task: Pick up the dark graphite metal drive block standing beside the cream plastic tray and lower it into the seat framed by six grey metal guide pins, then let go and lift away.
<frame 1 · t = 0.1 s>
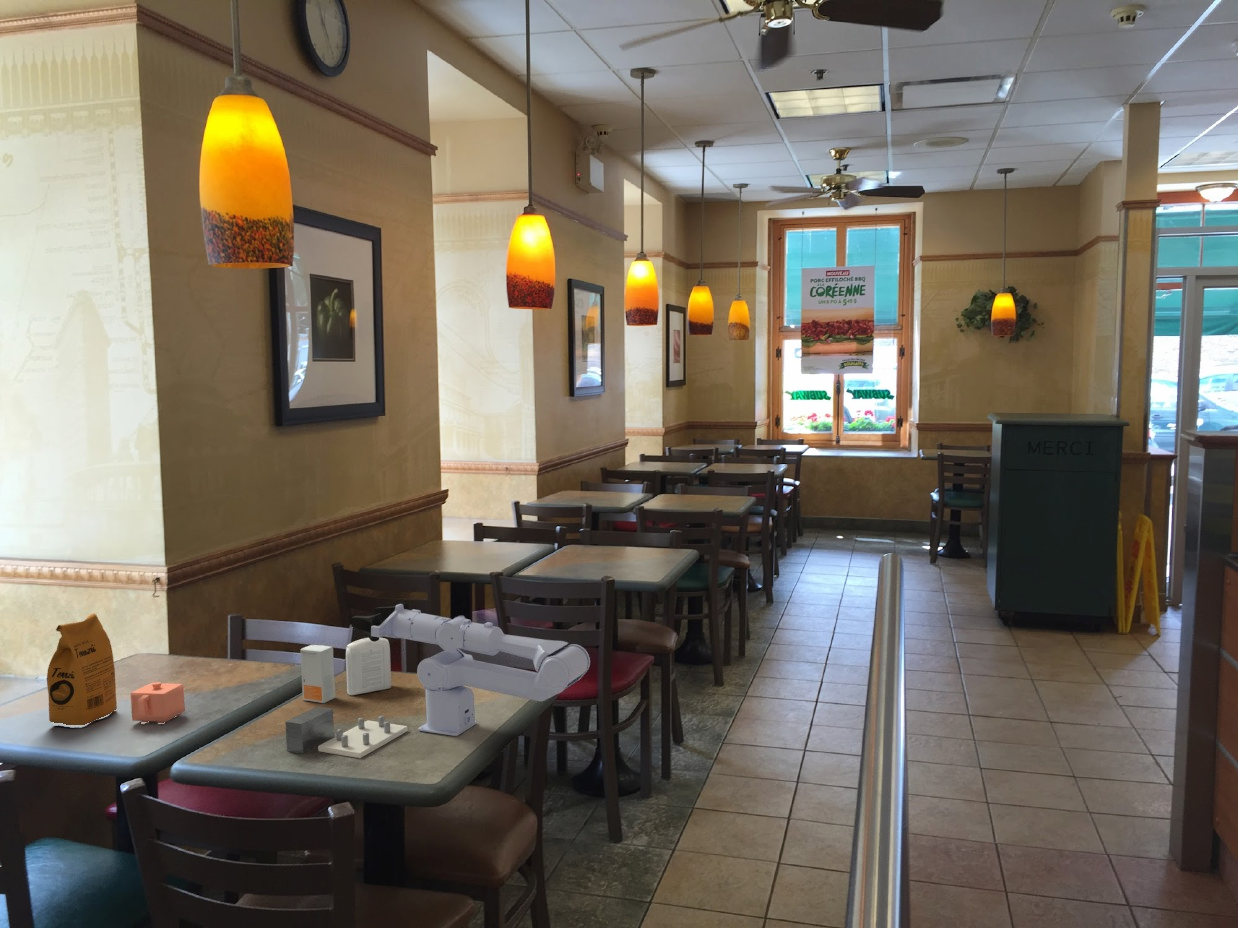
hand: (364, 616, 203), 22 cm above the table, tool horizontal, fingers open, 7 cm apart
pink cube teapot: (161, 720, 206), on the table
coffee package: (84, 720, 207), on the table
photo printer: (369, 691, 222), on the table
pin tray: (364, 740, 190), on the table
skincare box: (319, 700, 216), on the table
drive block: (311, 744, 189), on the table
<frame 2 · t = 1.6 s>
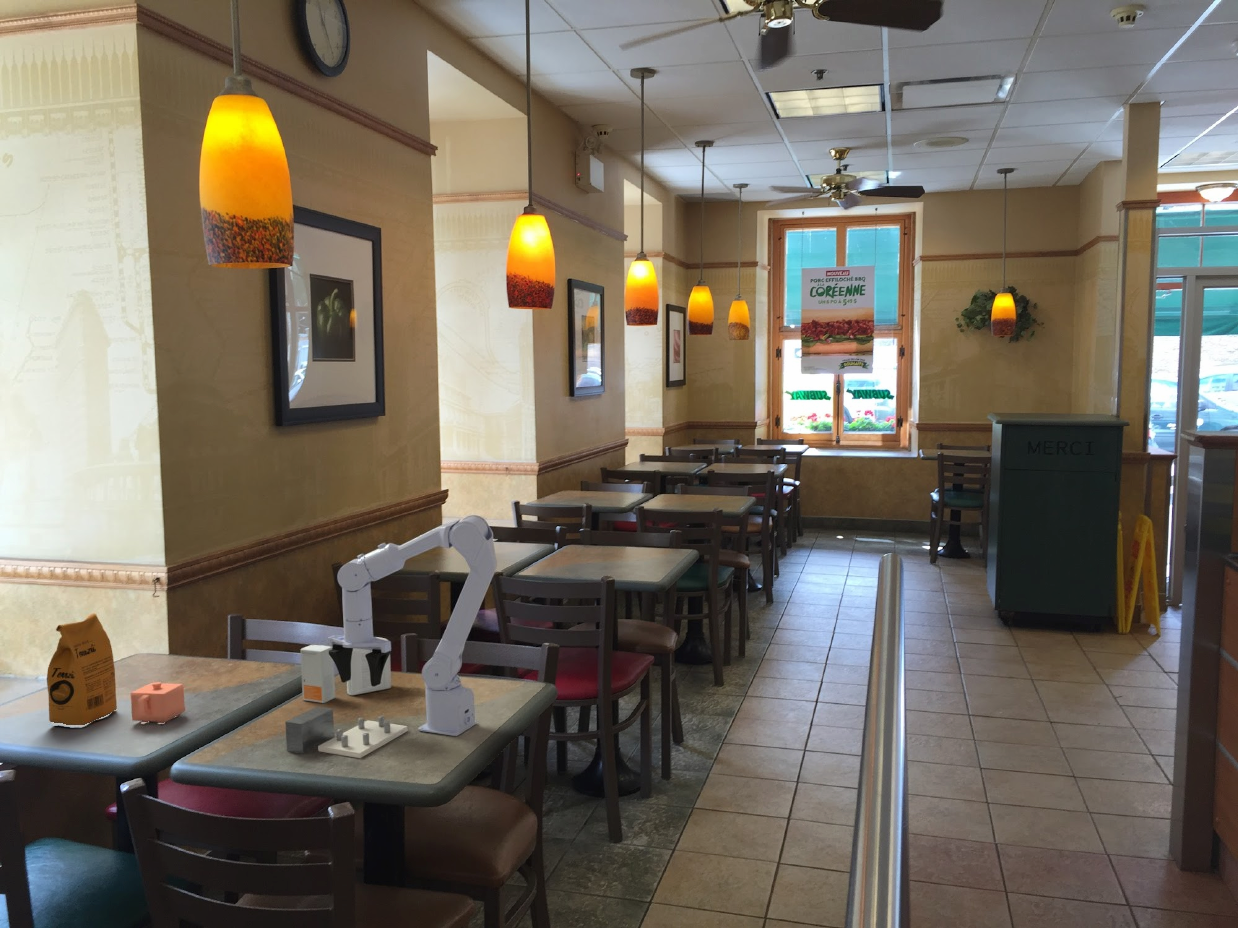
hand: (360, 682, 197), 9 cm above the table, tool pointing down, fingers open, 7 cm apart
nothing on the table moved.
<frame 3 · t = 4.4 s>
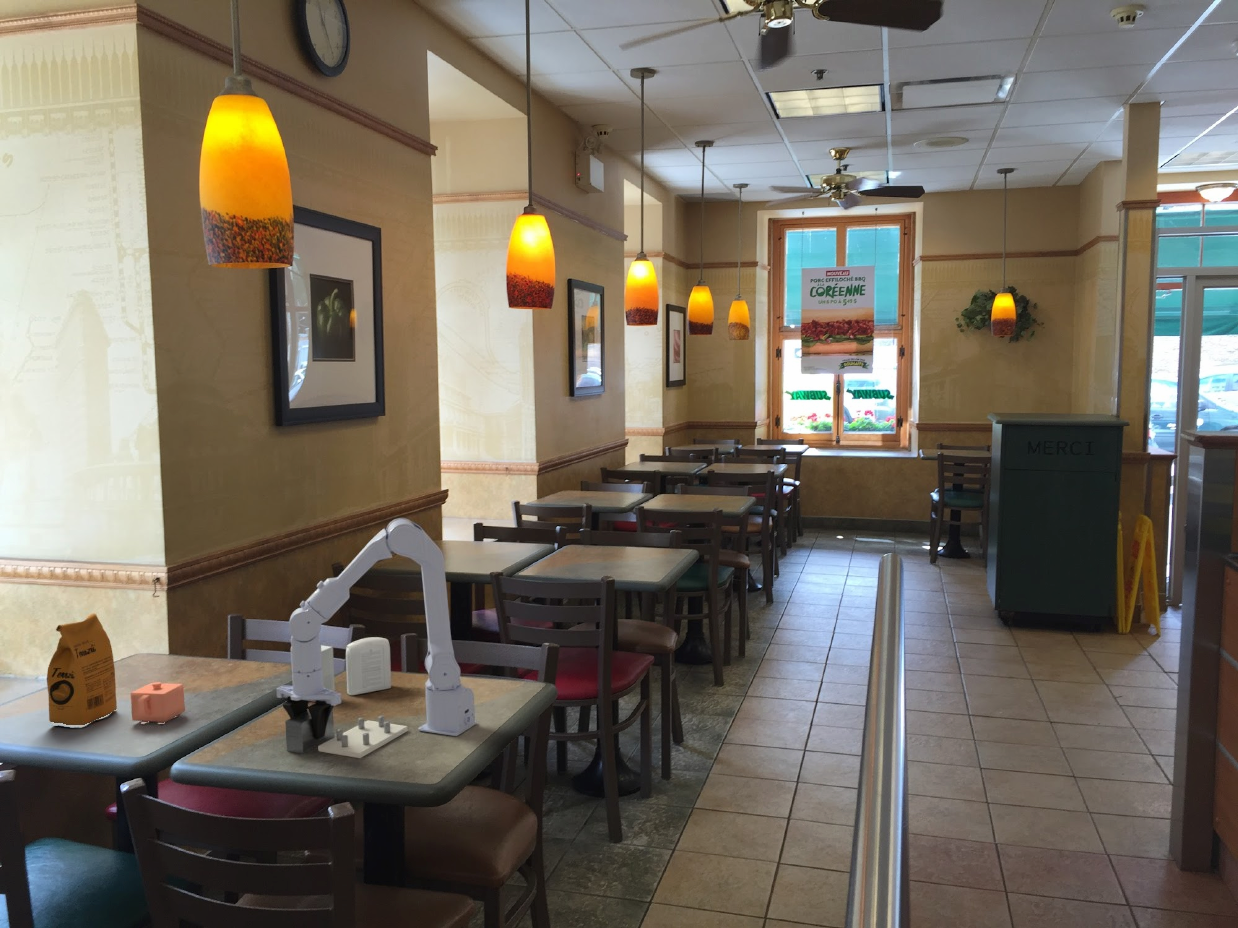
hand: (310, 735, 189), 2 cm above the table, tool pointing down, fingers closed on drive block, 4 cm apart
drive block: (311, 743, 189), on the table, touching gripper
everything else where it was.
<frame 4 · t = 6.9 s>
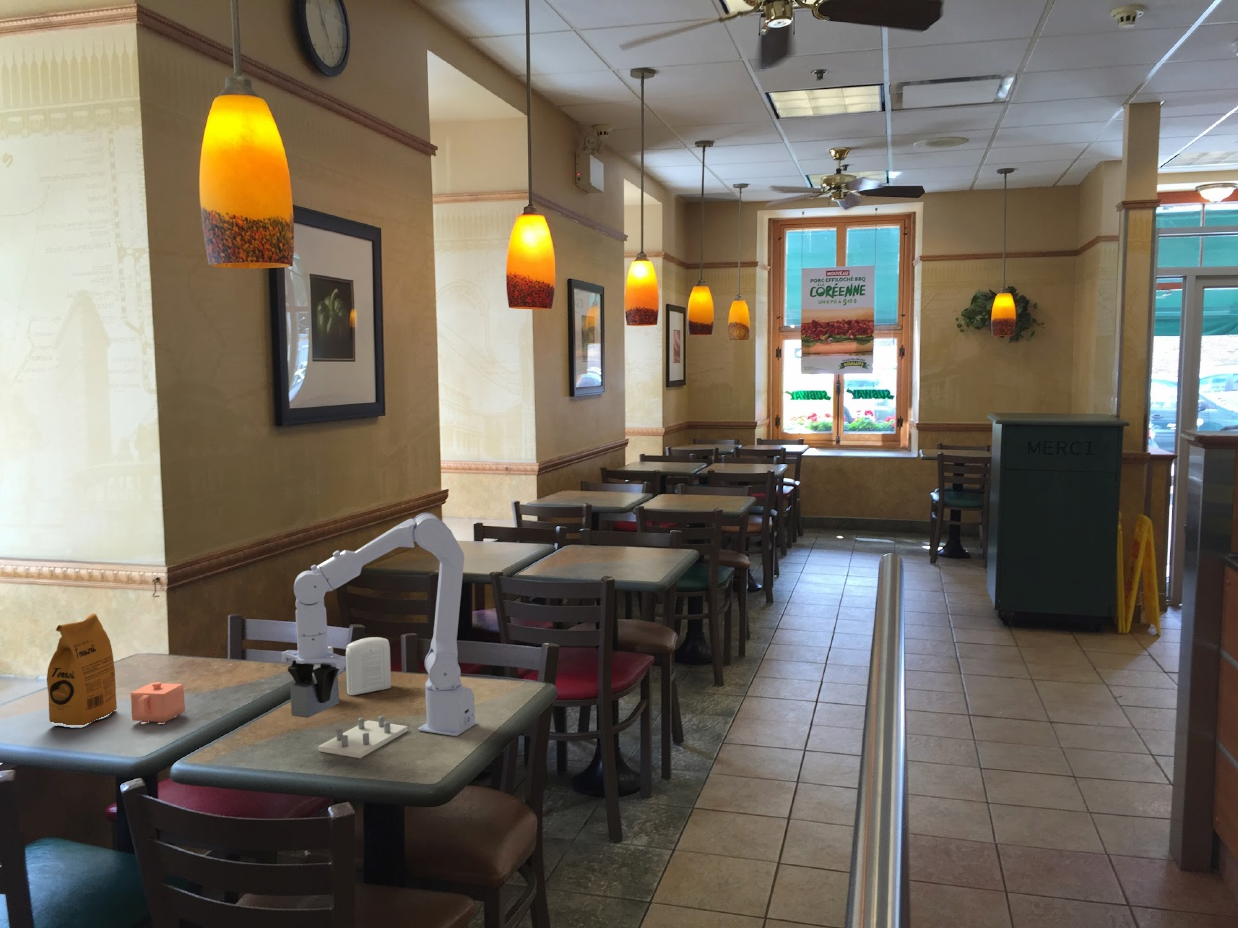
hand: (315, 699, 189), 9 cm above the table, tool pointing down, fingers closed on drive block, 4 cm apart
drive block: (315, 709, 189), point 7 cm above the table, touching gripper
everything else where it was.
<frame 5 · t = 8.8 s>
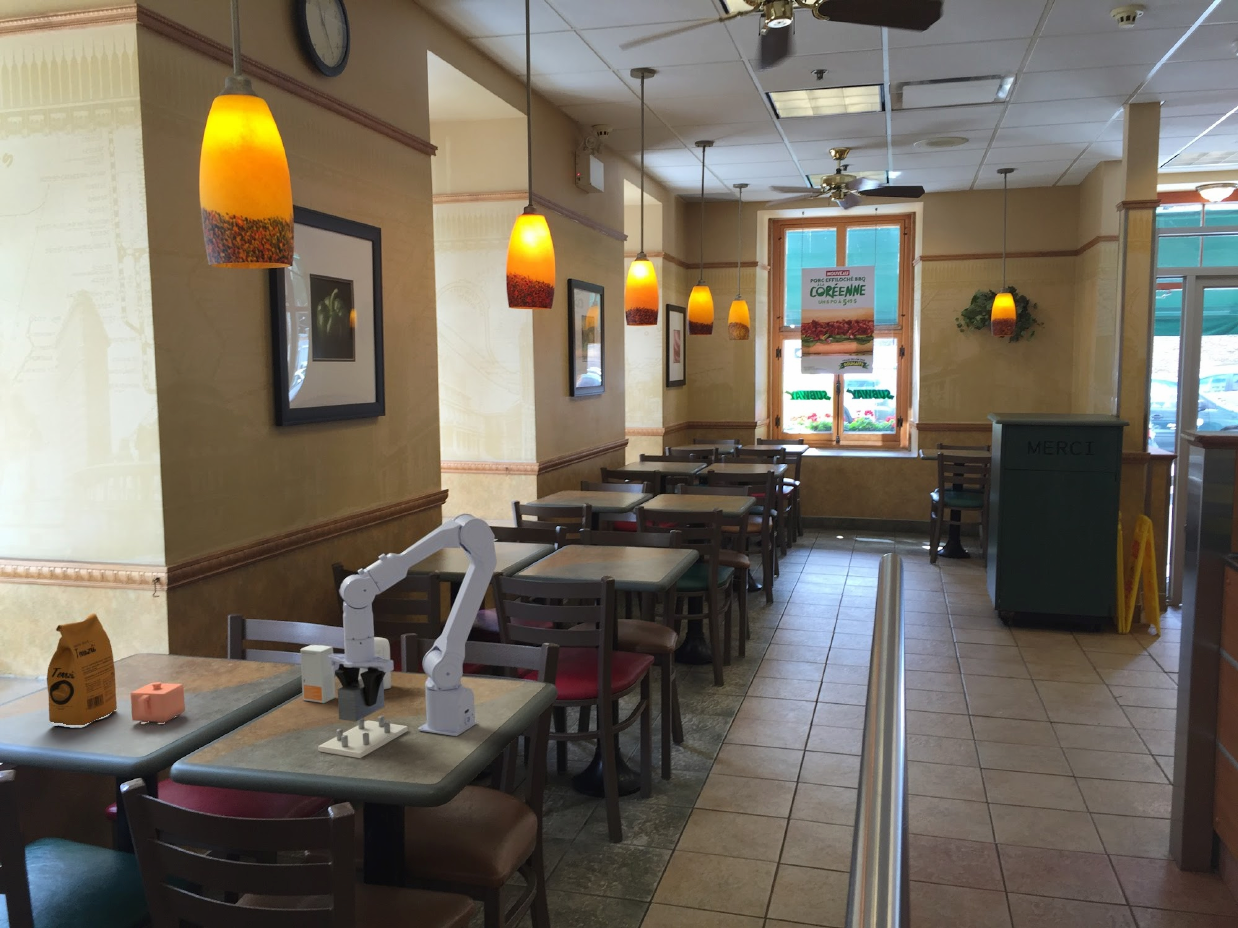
hand: (362, 703, 190), 8 cm above the table, tool pointing down, fingers closed on drive block, 4 cm apart
drive block: (362, 712, 190), point 6 cm above the table, touching gripper
everything else where it was.
when the fingers open (4 cm above the table, at t = 9.9 s): drive block drops 1 cm, resting on pin tray.
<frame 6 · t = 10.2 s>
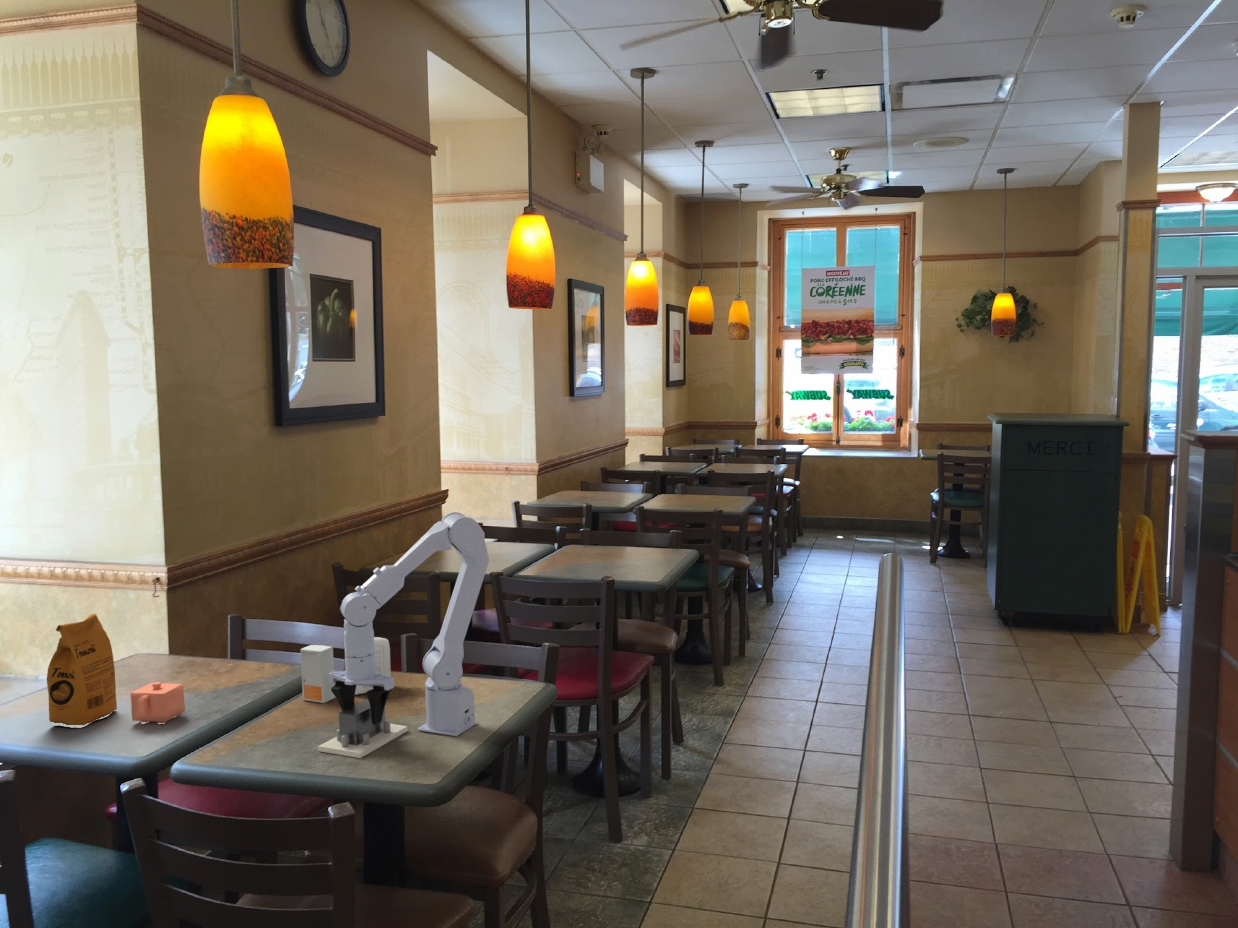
hand: (363, 720, 190), 4 cm above the table, tool pointing down, fingers open, 6 cm apart
drive block: (363, 735, 190), point 1 cm above the table, touching pin tray
everything else where it was.
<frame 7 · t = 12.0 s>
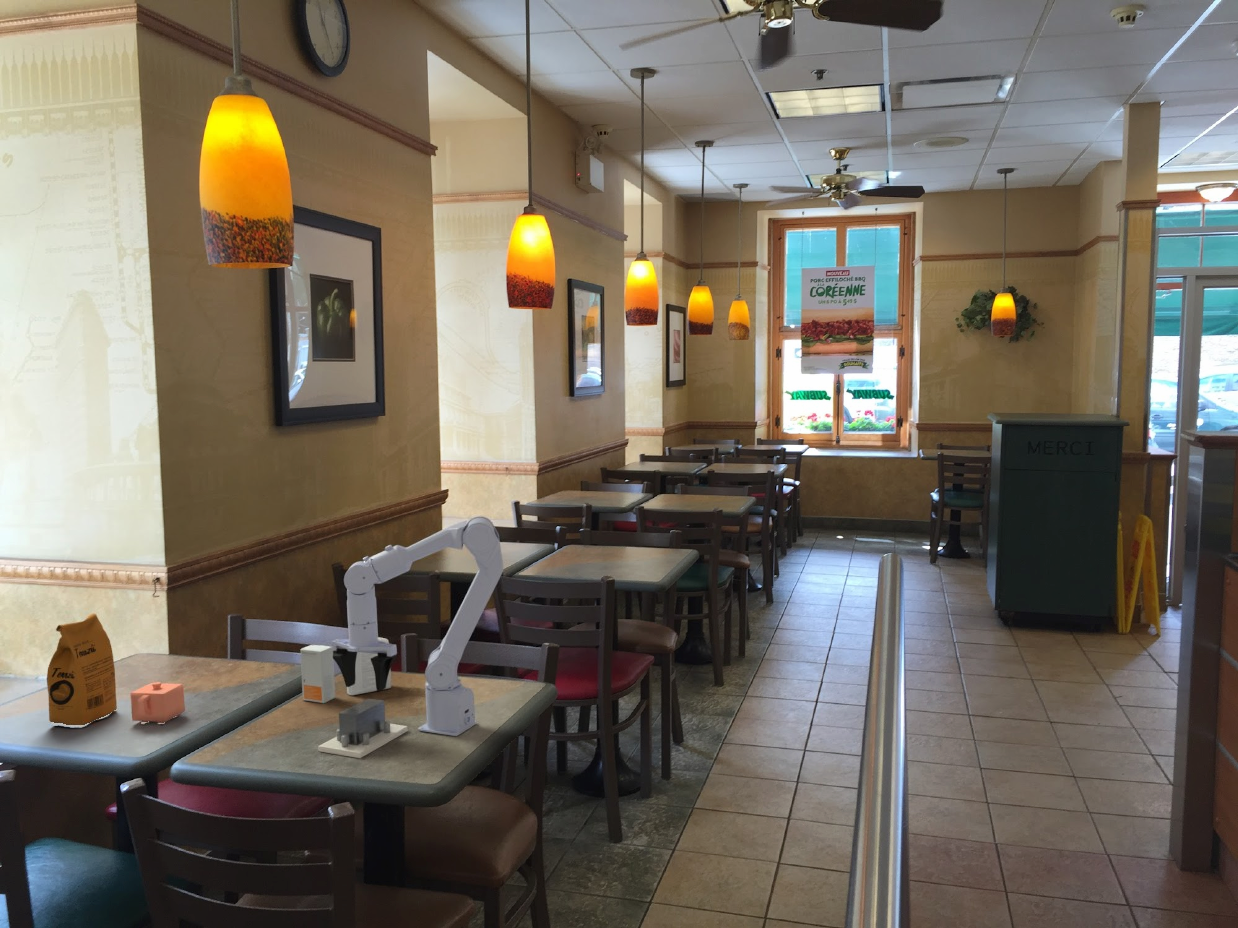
hand: (365, 687, 194), 9 cm above the table, tool pointing down, fingers open, 7 cm apart
nothing on the table moved.
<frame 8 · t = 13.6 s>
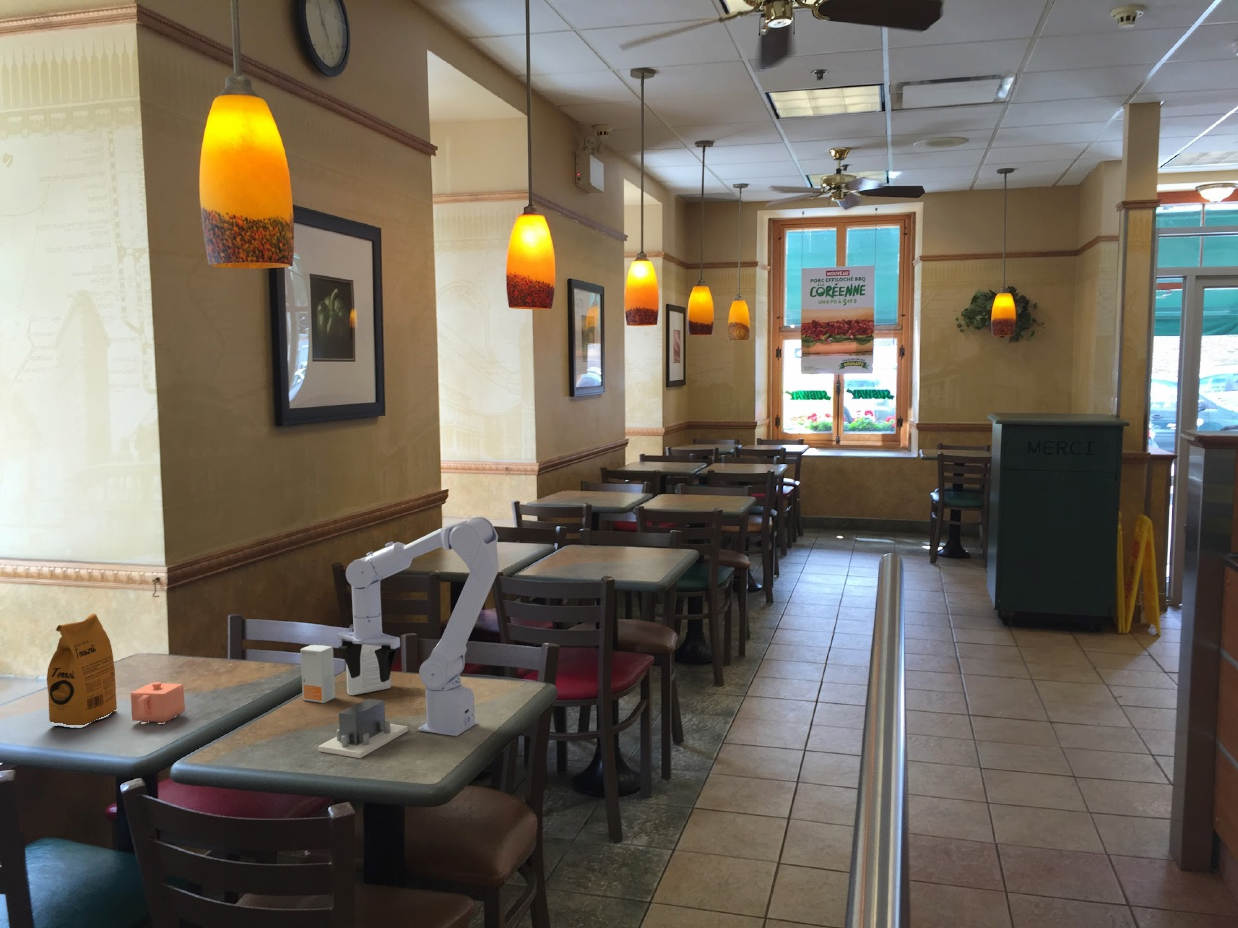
hand: (370, 678, 200), 9 cm above the table, tool pointing down, fingers open, 7 cm apart
nothing on the table moved.
at the end: drive block 0.1 cm off-centre on the pin tray, point 1.0 cm above the pin tray's base; drive block tilted 0°; the gripper is holding nothing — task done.
